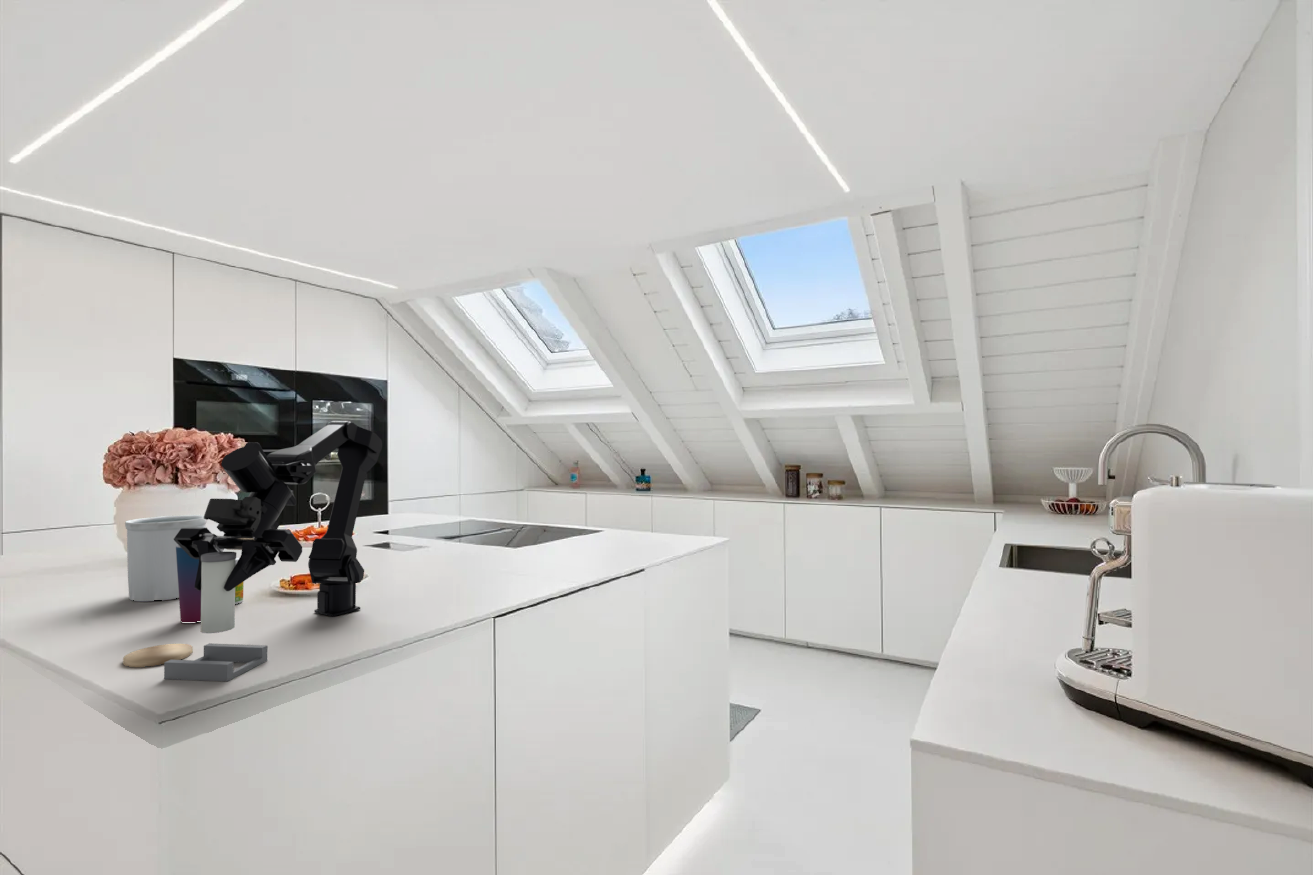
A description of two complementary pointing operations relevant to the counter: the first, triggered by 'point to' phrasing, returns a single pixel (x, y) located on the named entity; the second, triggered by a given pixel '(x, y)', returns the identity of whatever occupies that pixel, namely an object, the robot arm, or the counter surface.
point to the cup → (188, 587)
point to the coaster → (157, 655)
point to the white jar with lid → (217, 592)
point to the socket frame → (217, 662)
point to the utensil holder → (155, 555)
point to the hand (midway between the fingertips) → (211, 589)
